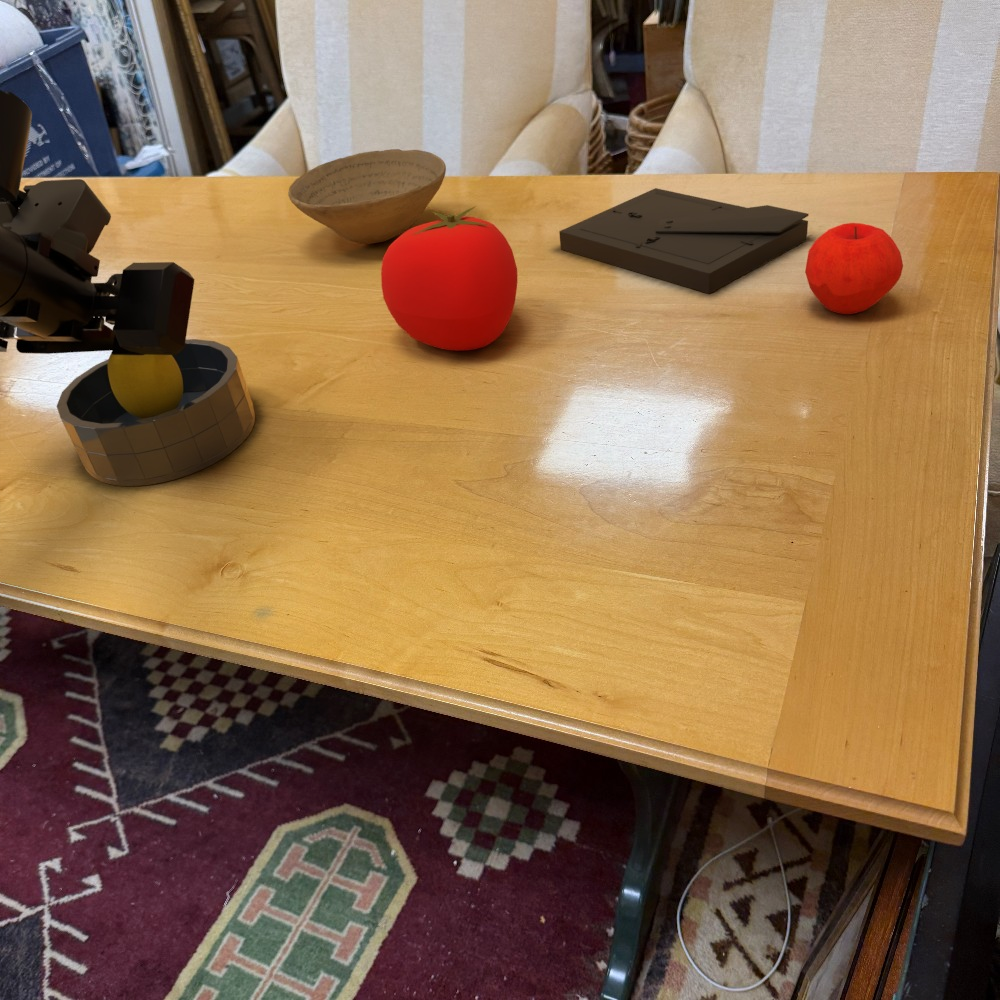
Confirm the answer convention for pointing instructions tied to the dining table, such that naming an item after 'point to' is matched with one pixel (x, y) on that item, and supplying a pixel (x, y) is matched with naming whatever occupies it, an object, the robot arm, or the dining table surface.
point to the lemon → (145, 383)
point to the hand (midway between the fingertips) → (144, 344)
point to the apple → (853, 267)
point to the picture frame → (686, 238)
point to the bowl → (370, 192)
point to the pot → (160, 420)
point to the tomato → (451, 282)
